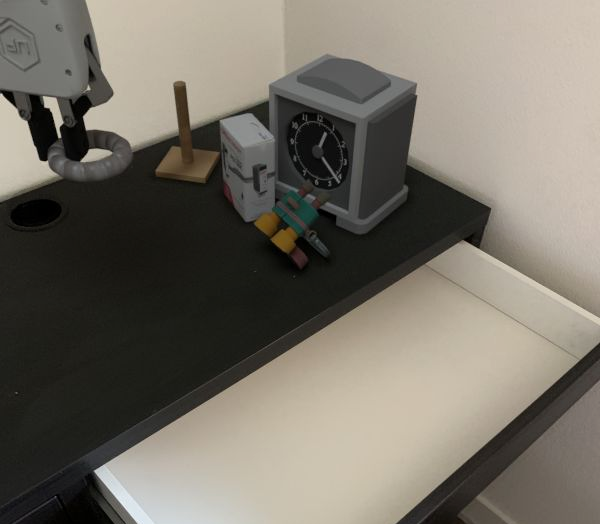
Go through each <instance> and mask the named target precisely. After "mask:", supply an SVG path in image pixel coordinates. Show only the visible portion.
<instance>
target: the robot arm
mask: <svg viewBox="0 0 600 524" xmlns="http://www.w3.org/2000/svg"><path fill="white" fill-rule="evenodd" d="M88 88H89V90H88ZM0 95H2V96H3V97H4V99H5V100H7V102H9V103H10V104H11V105H12V106H13V107H14V108H15V109H16V110H17V113H18V116H19V117H20V119H21V120H23V121H25V122H27V125H28V129H29V132H30V136H31V140H32V143H33V146H34V147H35V149H36V153H37V156H38V159H39V161H40V162H45V163H46V162H48V156H47V152H48V149H49V148H50V147H51V146H52V145H53V144H54V143H55V142H56V141H57V139H59V138H60V137H61V138H62V142H63V146H64V150H65V154H66V157H67V158H68V159H70V160H72V161H78V162H82V160H83V159H84V158H85V157H86V156H87V155H88V153H89V150H90V149H89V141H88V136H87V132H86V130H87V128H86V124H85V119H84V117H85V116H86V115H87V113H88V112H89V111H90V109H92V108H96V107H99V106H101V105H104V104H106V103H108V102H109V101H110V100H111V99H112V98H113V97H114V95H115V94H114V89H113V88H112V86H111V84H110V83H109V80H108V79H107V78H106V76H105V74H104V72H103V71H102V64H101V57H100V51H99V47H98V42H97V38H96V33H95V30H94V26H93V22H92V18H91V15H90V11H89V8H88V3H87V1H86V0H0ZM44 97H48V98H54V99H55V100H56V102H57V105H58V106H57V107H58V110H59V112H60V116H61V120H62V124H61V125H60V126H59V134H60V137H59V134H58V130H57V127H56V122H55V119H54V114H53V112H52V111H51V108H50V107H46V106H45V99H44Z"/></svg>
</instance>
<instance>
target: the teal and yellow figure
mask: <svg viewBox="0 0 600 524" xmlns="http://www.w3.org/2000/svg"><path fill="white" fill-rule="evenodd" d="M313 190H314V187H313V185H312V182H311V180H310V179H308V180H307V181H306V182H305V183H304V184H303V185H302V188H301V189H300V190H299V191H298V192H297V193H296V192H295V191H294V190H291V191H290V192H289V193H288V194H286V195H285V196H284V197H283V198H282V199H281V200H278V201H277V202H275V206H274V207H273V208H272V212H271V213H270V214H269V215H267V214H266V213H264V214H263V215H262V216H261V217H260V218H259V219H258V220H254V221H253V224H254V225H255V227H257V228H258V229H259V230H260V231H261V232H262V233H264V234H265V235H266V236H268V238H269V239H270V241H271V242H272V243H273V244H274V245H275V247H276V248H277V249H278V250H279V251H280V252H281V253H282V254H286V256H287V257H288V258H289V259H290V261H291V262H292V263H293V264H294V265H295V266H296V267H297V268H298V269H299V270H303V268H304V267H305V266H306V265H307V264H308V262H309V258H308V257H307V256H306V254H305V253H304V252H303V250H302V249H300V248H299V247H298V246H297V244H296V242H295V241H296V240H297V239H298V238H303V239H305V241H306V242H307V243H308V244H309V245H310V246H312V247H313V248H314V249H315V250H316V251H317V252H318V253H319V254H321V255H322V257H324V258H325V259H326V258H328V257H329V256H330V255H331V252H330V251H329V249H328V248H327V246H325V244H324V243H323V242H322V241H321V240H320V239H319V238H318V236H317V232H316V231H315V230H312V229H311V230H310V229H309V228H310V227H311V226H312V225H313V224H314V223H315V221H316V220H317V219H318V218H319V217H320V213H319V212H318V210H320V209H321V208H320V207H321V206H324V205H325V204H326V203H327V202H328V201H329V200H330V198H331V196H330V195H328V194H326V193H324V192H320V193H319V194H318V195H317V196H316V197H315V198H316V199H315V200H314V201H313V202H312V203H311V204H310V203H308V202H307V201H306V200H304V198H305V197H306V196H307V195H308V194H310V193H311V192H312V191H313ZM281 223H284V224H285V225H286V226H287V228H285V230H284V229H283V228H281V229H279V227H278V226H279V225H280V224H281ZM312 233H313V234H312ZM311 234H312V235H311ZM310 235H311V236H310Z"/></svg>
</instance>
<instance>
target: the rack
mask: <svg viewBox="0 0 600 524" xmlns="http://www.w3.org/2000/svg"><path fill="white" fill-rule="evenodd" d="M172 86H173V87H172V88H173V95H174V103H175V111H176V121H177V129H178V137H179V145H180V146H175V145H172V146H171V147H170V149H169V150H168V151H167V153H166V154H165V156H164V157H163V158H162V160H161V162H160V163H159V164H158V166H157V168H156V169H155V171H154V172H155V173H154V174H155V177H156V178H163V179H170V180H171V179H172V180H178V181H185V182H193V183H199V184H207V181H208V180H209V178H210V176H211V174H212V173H213V171H214V170H215V168H216V166H217V164H218V163H219V161H220V159H221V152H220V151H214V150H205V149H197V148H193V140H192V139H193V137H192V130H191V120H190V111H189V100H188V90H187V83H186V82H185V81H183V80H176V81H174V82H173V83H172Z"/></svg>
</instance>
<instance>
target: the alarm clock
mask: <svg viewBox="0 0 600 524" xmlns="http://www.w3.org/2000/svg"><path fill="white" fill-rule="evenodd" d="M417 87H418V82H416V81H412V80H409V79H407V78H403V77H400V76H397V75H394V74H390V73H387V72H385V71H382V70H379V69H376V68H374V67H373V66H371V65H369V64H366V63H364V62H362V61H359V60H355V59H351V58H342V57H339V56H336V55H333V54H329V53H325V54H324V55H322V56H320V57H318V58H316V59H313V60H312V61H310V62H308V63H306V64H304V65H302V66H301V67H299V68H297V69H295V70H293V71H292V72H289V73H287V74H286V75H284V76H282V77H280V78H279V79H276V80H275V81H273V82H271V83H269V84H268V116H269V117H268V119H269V120H268V121H269V122H268V123H269V126H268V127H269V132H270V133H271V134H272V135H273V136H274V139H275V199H277V200H278V201H280V200H281V199H282V198H283V197H284V196H285V195H286V194H288V193H289V192H290V191H291V190H294V191H295V192H296V193H297V192H298V191H299V190H300V189H301V188H302V185H303V184H304V183H305V182H306V181H307V180H308V179H310V180H311V182H312V185H313V187H314V190H313V191H312V192H311V193H310V194H308V195H307V196H306V197H305V198H304V200H306V201H307V202H308V203H309V204H311V203H312V202H313V201H314V200H315V199H316V198H315V197H316V196H317V195H318V194H319V193H320V192H324V193H326V194H328V195H330V196H331V198H330V200H329V201H328V202H327V203H326V204H325V205H324V206H321V207H320V208H319V209H320V210H323V211H326V212H328V213H331V214H333V215H334V216H336V220H335V225H336V226H338V227H340V228H341V229H344V230H346V231H349V232H351V233H353V234H355V235H366V234H368V233H369V231H371V230H372V229H373V228H375V227H376V226H377V225H378V224H379V223H380V222H382V221H383V220H384V219H385V218H387V217H388V216H389V215H390V214H391V213H393V212H394V211H395V210H396V209H398V208H399V207H400V206H401V205H402V204H404V203H405V202H406V201H407V199H408V194H409V187H408V185H407V184H405V180H406V171H407V165H408V160H409V153H410V147H411V139H412V134H413V127H414V119H415V115H416V114H415V113H416V107H417V102H418V101H417V100H418V95H417Z"/></svg>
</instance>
